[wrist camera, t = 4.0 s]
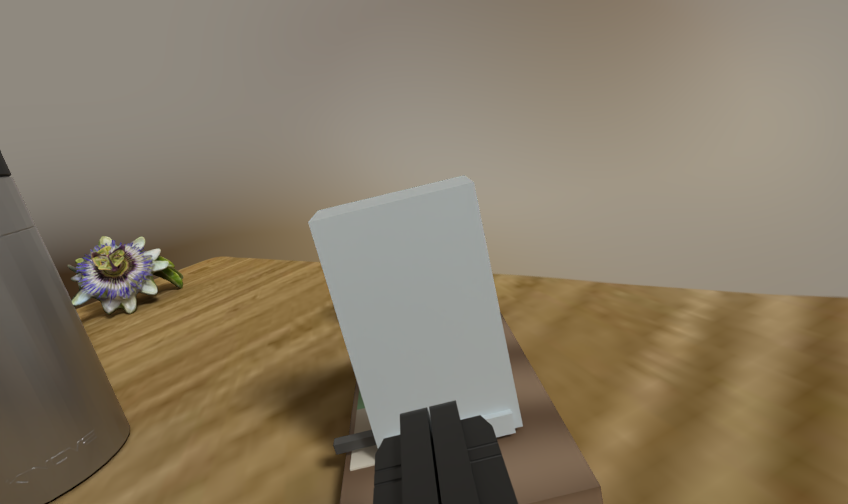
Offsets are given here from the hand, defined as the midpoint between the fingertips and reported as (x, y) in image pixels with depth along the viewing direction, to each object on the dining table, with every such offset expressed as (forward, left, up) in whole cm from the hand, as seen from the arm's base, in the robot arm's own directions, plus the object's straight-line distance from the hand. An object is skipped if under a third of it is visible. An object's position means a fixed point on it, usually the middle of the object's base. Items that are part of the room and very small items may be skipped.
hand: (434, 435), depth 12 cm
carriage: (-8, +8, -6) cm, 13 cm away
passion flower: (-63, +15, -8) cm, 65 cm away
